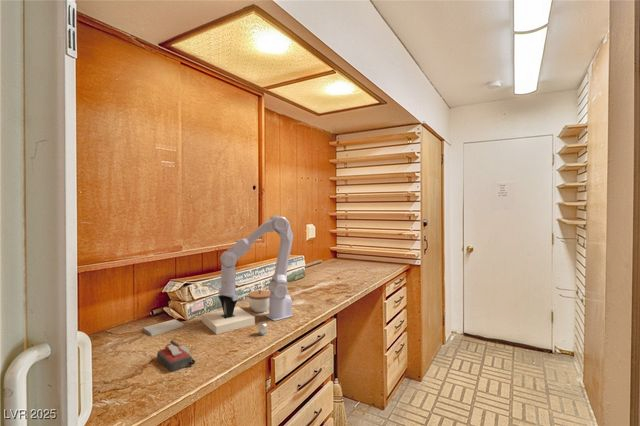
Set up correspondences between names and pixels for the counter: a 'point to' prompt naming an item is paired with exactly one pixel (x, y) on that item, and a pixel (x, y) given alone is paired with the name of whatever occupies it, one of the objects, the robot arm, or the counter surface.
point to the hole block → (227, 320)
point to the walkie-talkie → (175, 357)
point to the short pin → (262, 328)
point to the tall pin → (226, 312)
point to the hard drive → (162, 327)
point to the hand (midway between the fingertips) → (228, 313)
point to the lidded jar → (259, 300)
